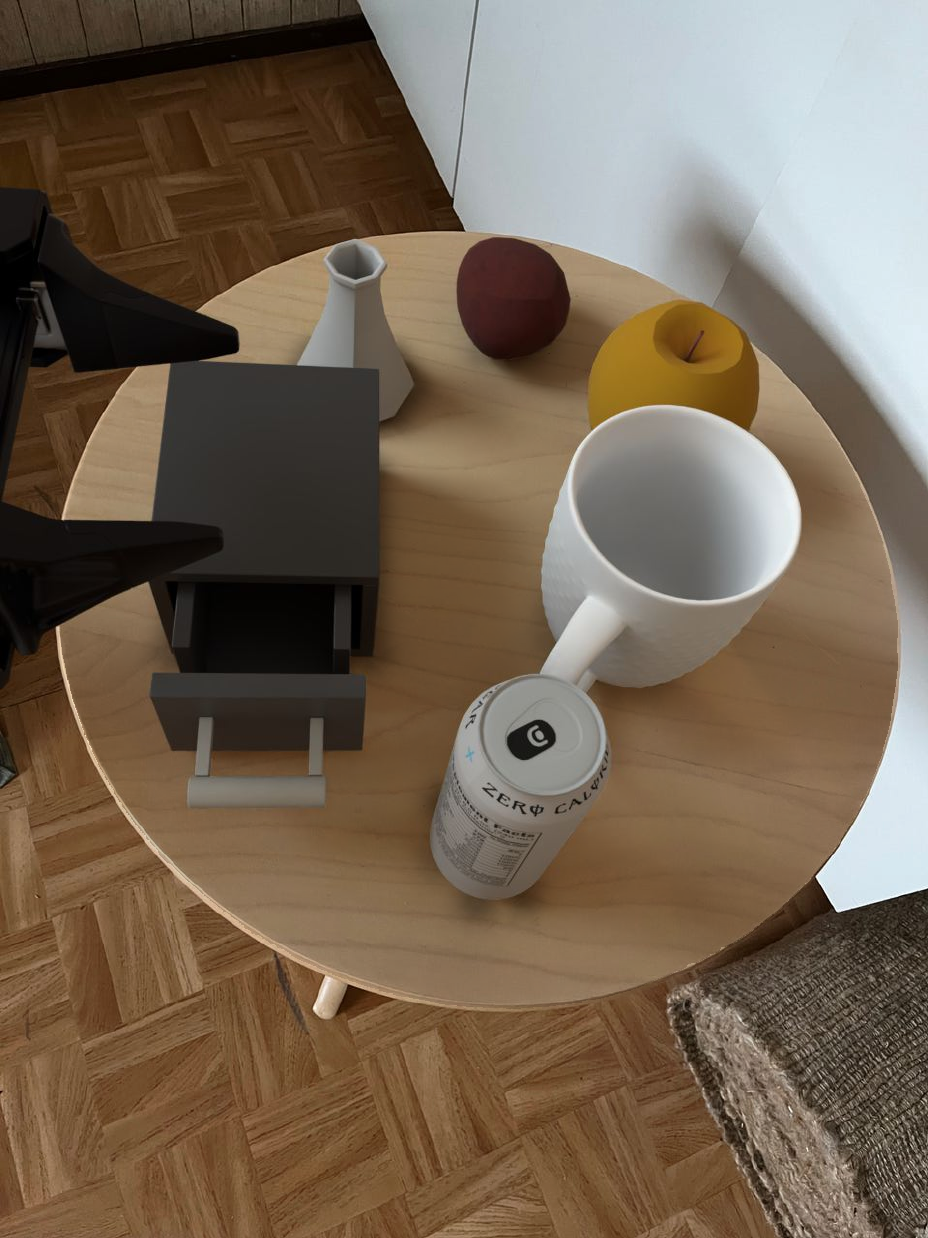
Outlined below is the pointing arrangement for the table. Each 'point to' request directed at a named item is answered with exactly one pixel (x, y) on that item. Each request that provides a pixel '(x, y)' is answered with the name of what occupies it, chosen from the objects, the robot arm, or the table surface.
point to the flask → (359, 324)
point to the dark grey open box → (275, 479)
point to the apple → (676, 365)
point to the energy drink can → (518, 784)
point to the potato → (511, 297)
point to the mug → (662, 545)
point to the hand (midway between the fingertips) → (231, 433)
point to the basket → (261, 686)
